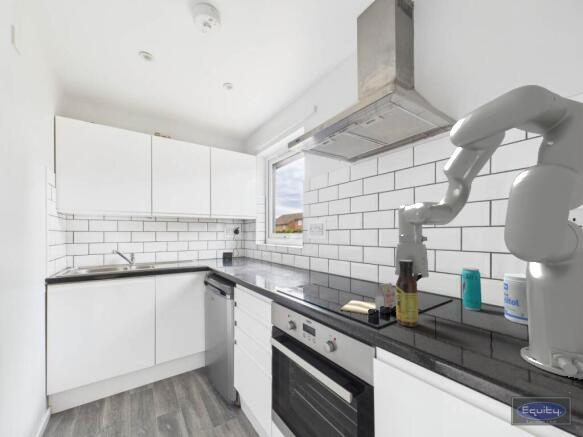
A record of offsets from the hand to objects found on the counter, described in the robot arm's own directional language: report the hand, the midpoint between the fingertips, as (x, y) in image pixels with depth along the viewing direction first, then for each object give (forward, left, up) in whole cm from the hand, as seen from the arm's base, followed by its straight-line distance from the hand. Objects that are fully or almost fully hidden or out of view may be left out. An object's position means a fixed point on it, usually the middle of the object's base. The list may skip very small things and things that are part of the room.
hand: (412, 293), depth 87 cm
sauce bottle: (-10, +1, -8) cm, 13 cm away
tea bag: (0, +9, -8) cm, 12 cm away
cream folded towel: (0, +18, -8) cm, 20 cm away
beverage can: (+20, -19, -8) cm, 28 cm away
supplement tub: (+12, -32, -8) cm, 35 cm away
